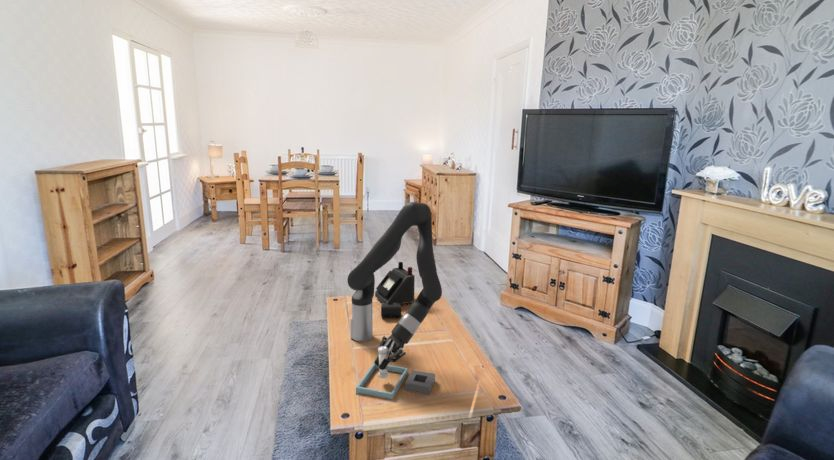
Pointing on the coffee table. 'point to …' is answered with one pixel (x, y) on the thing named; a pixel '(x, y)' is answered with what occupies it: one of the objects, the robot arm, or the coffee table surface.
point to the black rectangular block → (390, 310)
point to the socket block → (420, 382)
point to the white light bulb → (382, 355)
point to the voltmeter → (397, 286)
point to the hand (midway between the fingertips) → (378, 366)
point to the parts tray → (377, 392)
